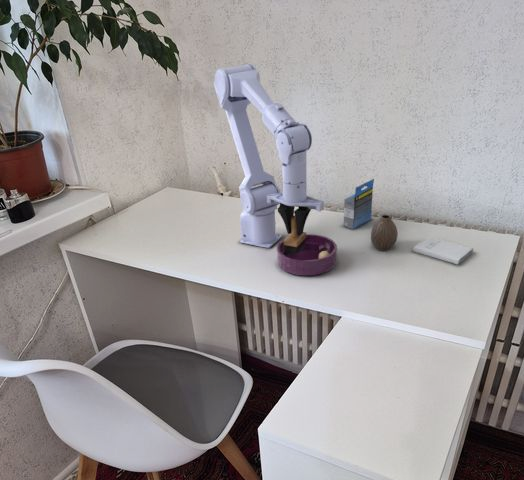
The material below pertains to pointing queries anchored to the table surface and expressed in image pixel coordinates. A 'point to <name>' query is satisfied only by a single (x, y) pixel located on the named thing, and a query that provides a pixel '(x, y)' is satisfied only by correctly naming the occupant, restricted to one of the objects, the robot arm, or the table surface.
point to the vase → (384, 233)
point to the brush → (294, 238)
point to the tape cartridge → (358, 206)
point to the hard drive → (443, 250)
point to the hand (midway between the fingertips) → (295, 233)
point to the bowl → (308, 256)
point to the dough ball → (323, 254)
